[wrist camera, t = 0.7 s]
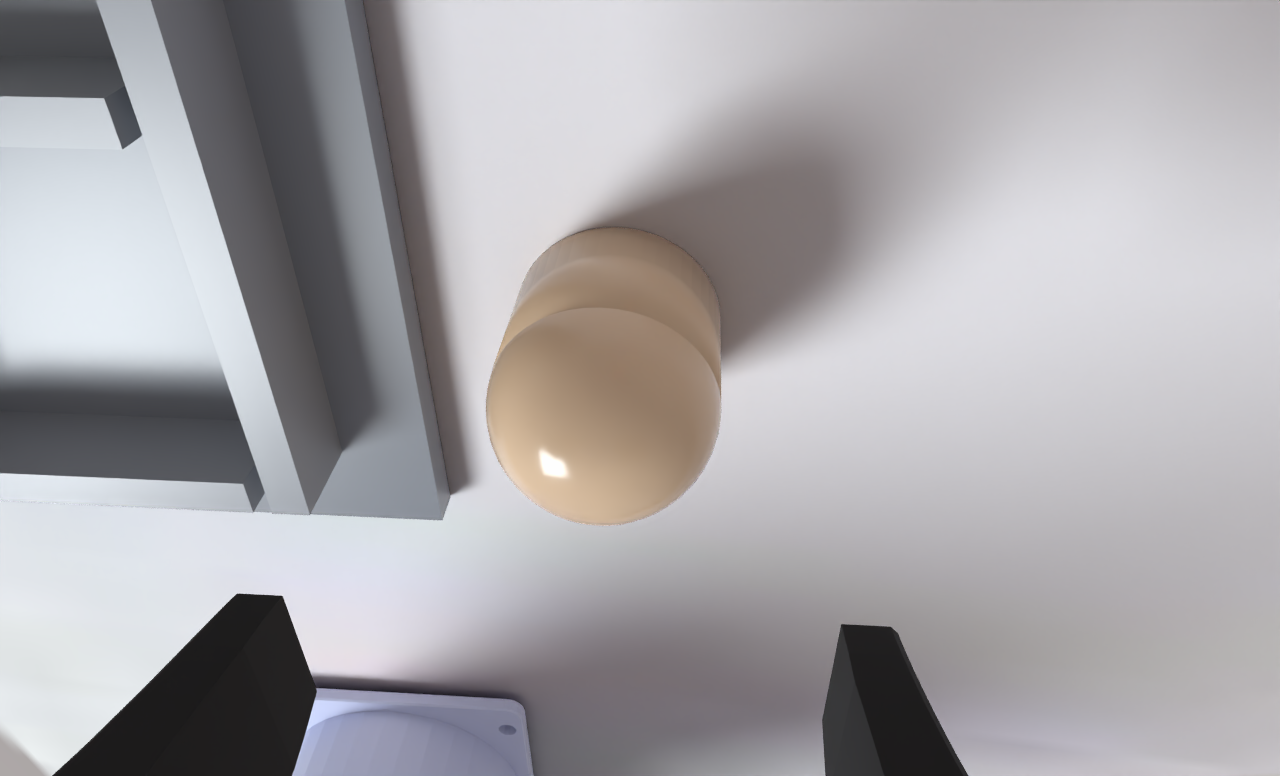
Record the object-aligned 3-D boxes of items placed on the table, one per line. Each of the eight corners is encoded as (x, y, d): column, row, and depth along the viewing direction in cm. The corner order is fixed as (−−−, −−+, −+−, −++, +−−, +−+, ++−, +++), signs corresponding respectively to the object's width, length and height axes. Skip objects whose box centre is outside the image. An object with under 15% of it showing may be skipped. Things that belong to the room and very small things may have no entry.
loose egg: (715, 403, 20) (716, 582, 16) (526, 396, 20) (476, 570, 16) (725, 229, 17) (729, 387, 13) (509, 223, 17) (444, 376, 13)
